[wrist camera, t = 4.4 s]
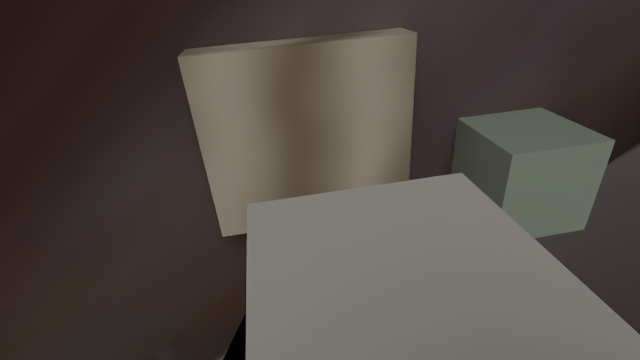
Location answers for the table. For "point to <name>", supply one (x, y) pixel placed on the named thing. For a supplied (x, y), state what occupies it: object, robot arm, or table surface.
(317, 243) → the white block
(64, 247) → the table surface
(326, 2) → the table surface
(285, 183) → the slab
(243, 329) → the robot arm
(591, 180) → the sage block
